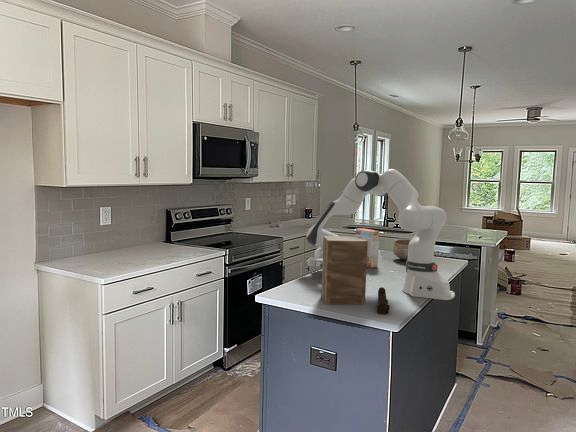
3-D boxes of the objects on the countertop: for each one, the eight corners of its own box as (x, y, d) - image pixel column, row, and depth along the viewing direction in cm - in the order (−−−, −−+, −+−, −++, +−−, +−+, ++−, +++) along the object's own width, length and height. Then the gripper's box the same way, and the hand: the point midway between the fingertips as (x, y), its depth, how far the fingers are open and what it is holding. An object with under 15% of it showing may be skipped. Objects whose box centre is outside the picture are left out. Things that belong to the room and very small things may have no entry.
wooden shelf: (321, 295, 191) (323, 236, 189) (357, 295, 193) (360, 236, 190) (325, 304, 179) (328, 240, 177) (364, 304, 181) (367, 241, 178)
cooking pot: (395, 255, 289) (396, 237, 288) (426, 258, 281) (427, 239, 280) (388, 262, 266) (389, 242, 265) (420, 265, 259) (422, 245, 257)
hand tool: (389, 315, 168) (390, 301, 167) (376, 314, 169) (377, 300, 168) (389, 299, 190) (389, 286, 189) (377, 298, 191) (378, 285, 190)
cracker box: (378, 267, 252) (380, 230, 250) (370, 268, 248) (372, 231, 246) (361, 262, 263) (363, 227, 261) (353, 263, 260) (355, 228, 258)
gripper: (305, 253, 227) (309, 259, 213) (345, 254, 228) (351, 259, 215) (305, 265, 227) (308, 271, 214) (344, 266, 229) (350, 272, 215)
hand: (330, 265), depth 214 cm, fingers open, 8 cm apart
